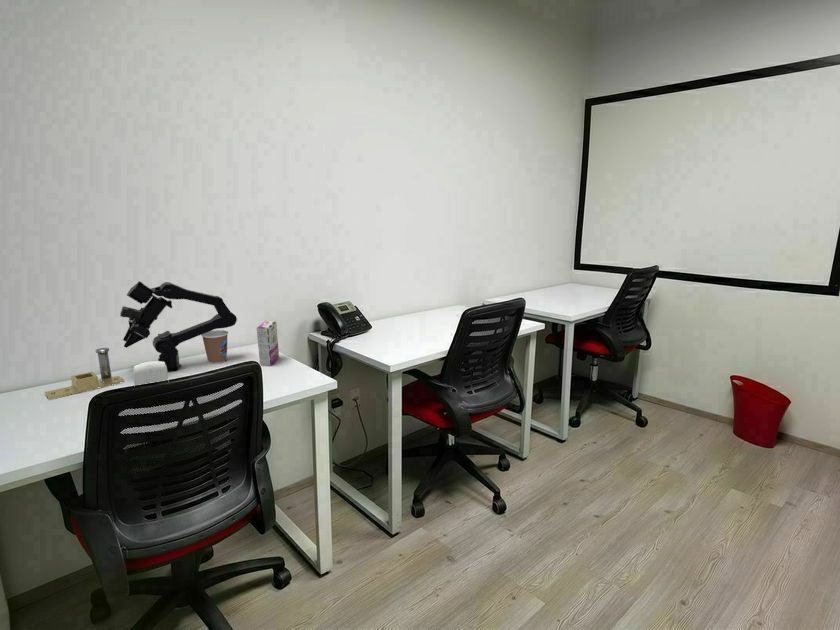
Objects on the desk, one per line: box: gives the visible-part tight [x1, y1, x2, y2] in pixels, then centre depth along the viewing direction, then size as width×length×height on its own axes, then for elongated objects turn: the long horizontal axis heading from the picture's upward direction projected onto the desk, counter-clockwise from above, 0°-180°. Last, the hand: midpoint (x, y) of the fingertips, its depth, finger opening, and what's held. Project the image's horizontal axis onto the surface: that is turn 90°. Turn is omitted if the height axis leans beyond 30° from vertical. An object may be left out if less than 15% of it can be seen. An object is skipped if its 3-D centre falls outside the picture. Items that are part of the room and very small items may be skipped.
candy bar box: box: [256, 320, 280, 367], centre depth 201 cm, size 11×5×16 cm, turn 179°
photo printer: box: [132, 360, 169, 385], centre depth 165 cm, size 10×4×12 cm, turn 123°
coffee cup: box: [200, 329, 229, 364], centre depth 202 cm, size 10×10×12 cm
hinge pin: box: [95, 347, 112, 380], centre depth 181 cm, size 4×4×12 cm
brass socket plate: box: [44, 371, 125, 401], centre depth 172 cm, size 23×7×4 cm, turn 136°
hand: (124, 343), depth 182 cm, fingers open, 9 cm apart
